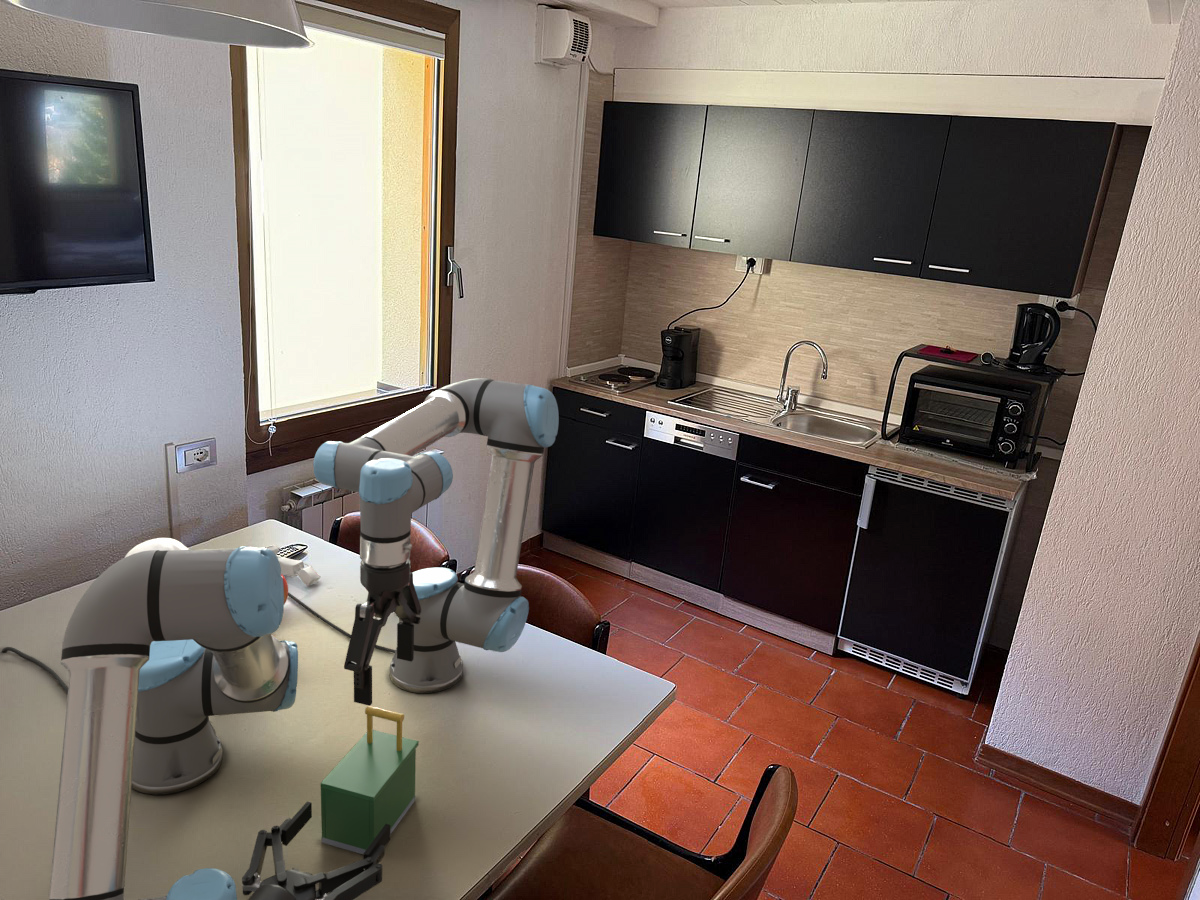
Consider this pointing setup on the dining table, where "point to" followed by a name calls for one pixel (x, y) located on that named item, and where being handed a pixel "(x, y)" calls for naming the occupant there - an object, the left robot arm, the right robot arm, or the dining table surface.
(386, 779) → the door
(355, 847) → the chest
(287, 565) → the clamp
